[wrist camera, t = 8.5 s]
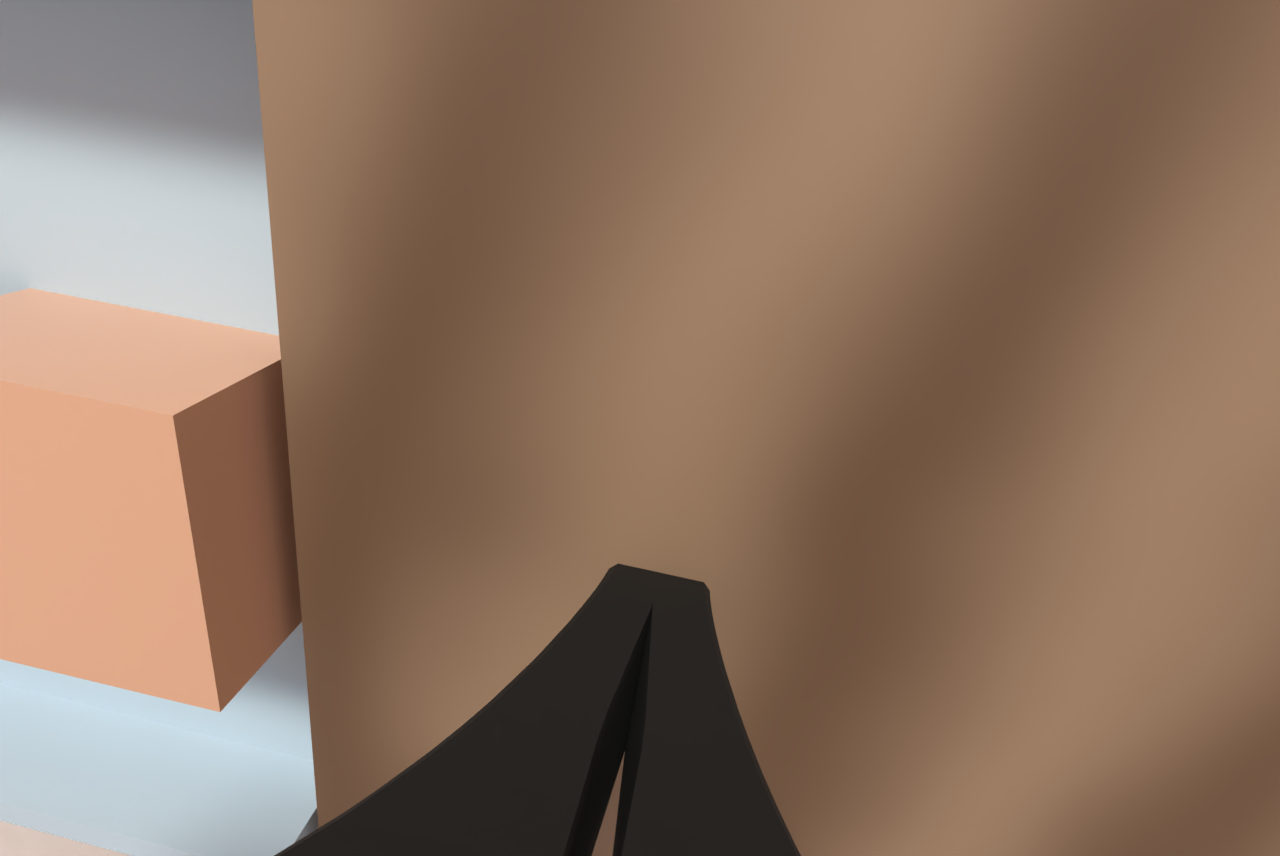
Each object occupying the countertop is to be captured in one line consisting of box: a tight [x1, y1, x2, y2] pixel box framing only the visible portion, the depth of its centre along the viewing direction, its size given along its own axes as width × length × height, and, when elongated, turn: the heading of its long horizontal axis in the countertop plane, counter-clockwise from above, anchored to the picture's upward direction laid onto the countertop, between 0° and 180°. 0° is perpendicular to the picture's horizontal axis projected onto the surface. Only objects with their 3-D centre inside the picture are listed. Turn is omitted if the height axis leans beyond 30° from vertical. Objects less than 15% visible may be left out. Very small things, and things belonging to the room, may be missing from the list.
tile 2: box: [0, 288, 302, 712], centre depth 11 cm, size 5×5×3 cm
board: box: [252, 0, 1280, 856], centre depth 11 cm, size 18×20×2 cm
